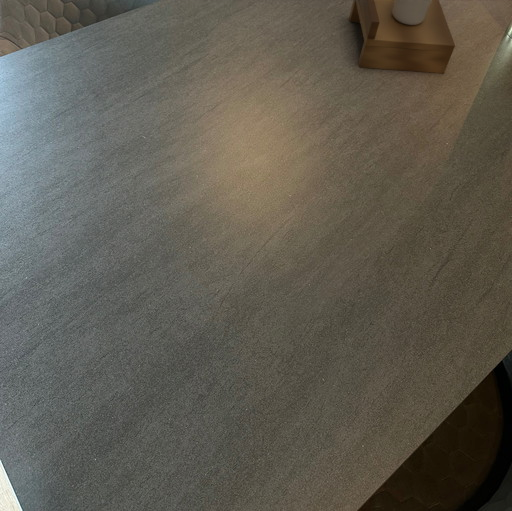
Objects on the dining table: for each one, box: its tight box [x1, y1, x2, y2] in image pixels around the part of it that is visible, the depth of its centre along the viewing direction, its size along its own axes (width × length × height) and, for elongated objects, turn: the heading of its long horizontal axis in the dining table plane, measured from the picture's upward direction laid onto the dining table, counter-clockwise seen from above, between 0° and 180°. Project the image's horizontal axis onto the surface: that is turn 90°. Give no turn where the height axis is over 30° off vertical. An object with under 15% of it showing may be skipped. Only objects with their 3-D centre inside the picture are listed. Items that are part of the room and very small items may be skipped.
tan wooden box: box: [348, 0, 456, 74], centre depth 101 cm, size 14×14×8 cm
